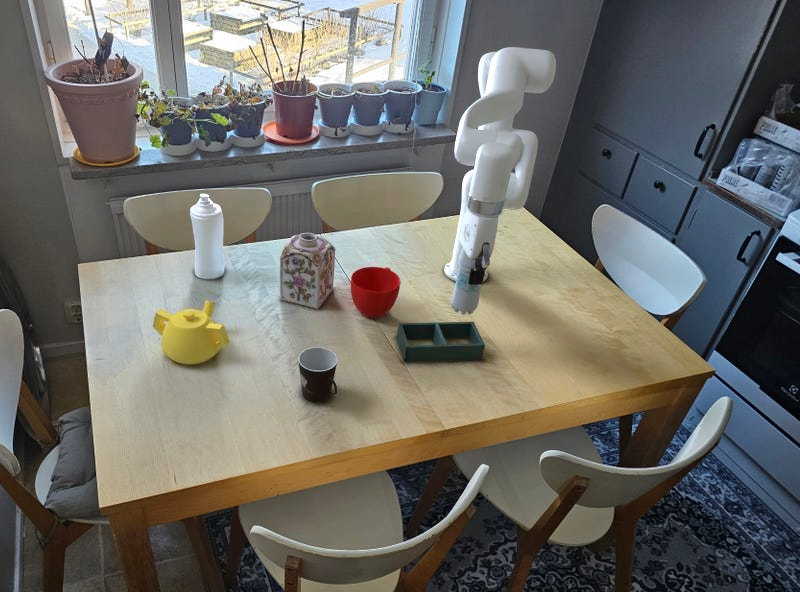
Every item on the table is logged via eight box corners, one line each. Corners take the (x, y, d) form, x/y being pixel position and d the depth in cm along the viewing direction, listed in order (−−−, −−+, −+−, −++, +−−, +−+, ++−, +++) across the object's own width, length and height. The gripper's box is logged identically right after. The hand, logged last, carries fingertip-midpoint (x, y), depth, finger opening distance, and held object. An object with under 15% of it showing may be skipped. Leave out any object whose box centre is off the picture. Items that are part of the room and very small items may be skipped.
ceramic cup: (407, 298, 177) (412, 267, 170) (386, 330, 164) (390, 297, 158) (364, 287, 181) (367, 256, 174) (340, 316, 168) (343, 284, 162)
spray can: (238, 272, 184) (234, 191, 169) (214, 288, 177) (207, 204, 162) (207, 260, 189) (200, 180, 174) (183, 275, 182) (173, 193, 166)
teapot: (249, 333, 161) (247, 297, 154) (216, 376, 147) (213, 338, 140) (178, 316, 166) (174, 280, 159) (140, 356, 152) (134, 319, 145)
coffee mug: (296, 381, 147) (297, 347, 141) (333, 380, 148) (335, 346, 141) (299, 416, 138) (300, 381, 131) (338, 415, 138) (341, 380, 132)
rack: (396, 337, 162) (398, 323, 159) (470, 335, 164) (473, 321, 161) (404, 362, 154) (406, 347, 151) (481, 359, 156) (485, 345, 153)
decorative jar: (278, 300, 174) (278, 241, 162) (295, 280, 182) (296, 222, 171) (319, 310, 170) (321, 250, 159) (334, 289, 179) (338, 231, 168)
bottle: (477, 319, 150) (494, 244, 137) (448, 315, 151) (463, 240, 138) (477, 303, 155) (494, 229, 142) (449, 299, 156) (464, 226, 143)
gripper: (457, 186, 142) (445, 256, 153) (480, 222, 128) (464, 296, 140) (490, 186, 142) (475, 256, 154) (516, 222, 129) (497, 295, 140)
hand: (470, 274), depth 147 cm, fingers closed on bottle, 6 cm apart
